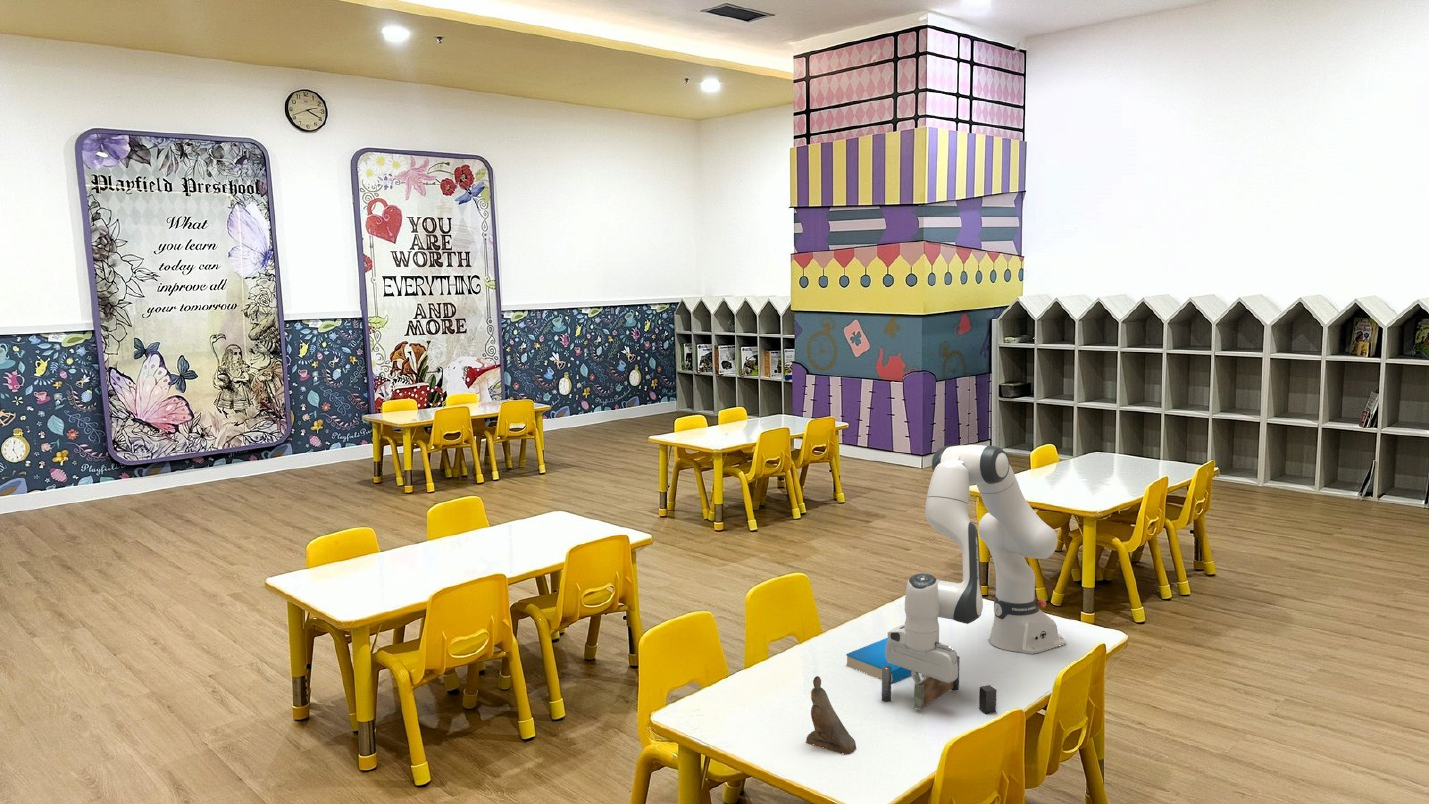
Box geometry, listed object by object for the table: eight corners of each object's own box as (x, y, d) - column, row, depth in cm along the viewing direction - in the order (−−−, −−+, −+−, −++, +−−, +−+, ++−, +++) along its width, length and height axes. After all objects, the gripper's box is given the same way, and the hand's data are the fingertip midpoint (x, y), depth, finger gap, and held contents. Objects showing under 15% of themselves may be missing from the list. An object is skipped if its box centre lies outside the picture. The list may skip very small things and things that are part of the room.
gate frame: (960, 685, 262) (960, 654, 260) (995, 712, 246) (996, 678, 245) (880, 699, 254) (880, 666, 253) (911, 727, 239) (912, 692, 237)
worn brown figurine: (806, 752, 232) (791, 679, 232) (818, 743, 236) (804, 671, 236) (848, 757, 225) (834, 681, 224) (860, 747, 229) (845, 673, 229)
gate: (948, 686, 259) (948, 665, 258) (954, 688, 258) (954, 666, 257) (914, 707, 247) (914, 685, 246) (920, 709, 246) (920, 687, 245)
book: (845, 654, 275) (900, 630, 292) (845, 668, 276) (900, 644, 292) (893, 672, 263) (948, 646, 279) (893, 687, 263) (948, 660, 280)
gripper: (963, 644, 245) (962, 696, 247) (896, 624, 259) (895, 673, 261) (950, 652, 240) (948, 704, 243) (882, 630, 255) (881, 680, 257)
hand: (920, 688), depth 252 cm, fingers closed
